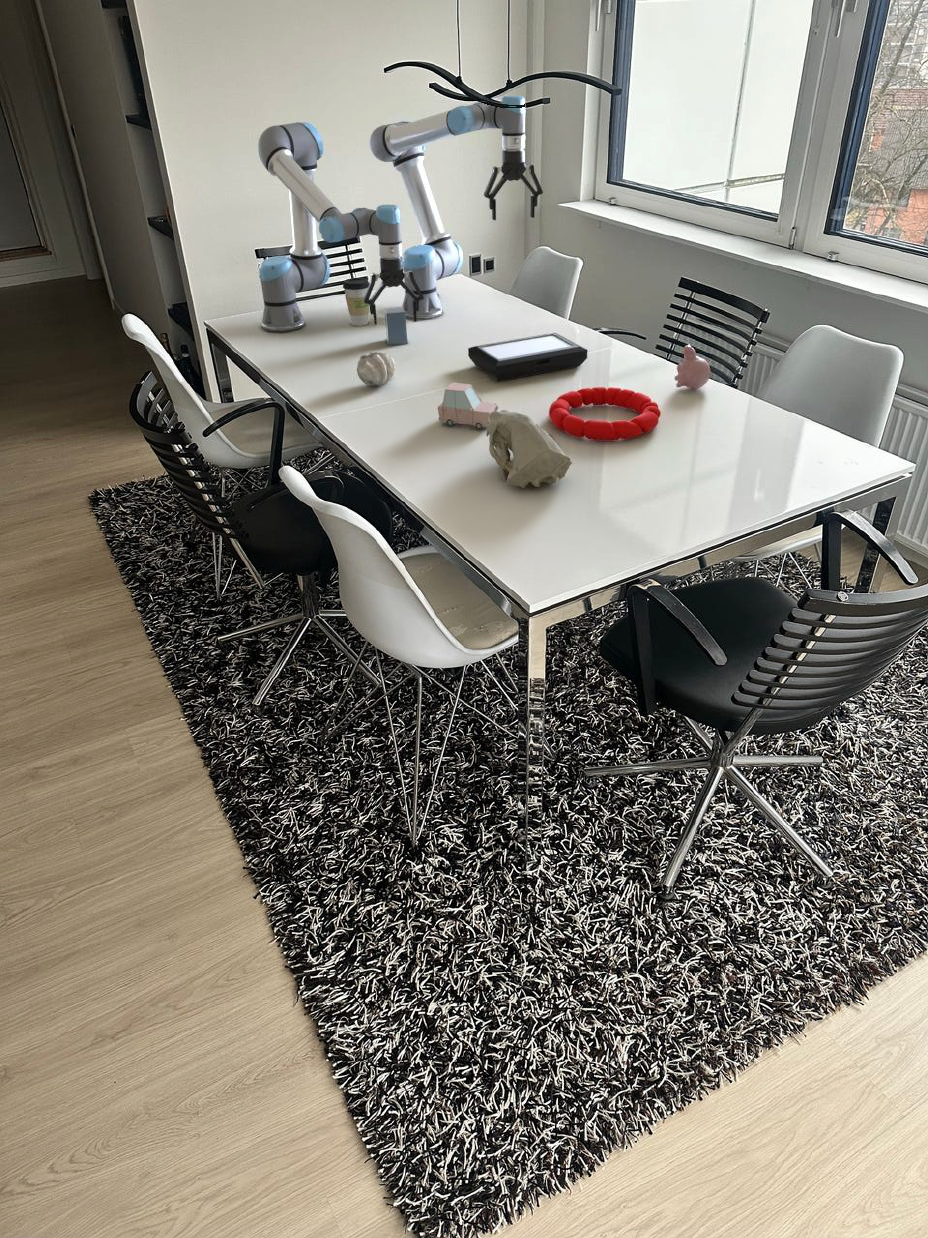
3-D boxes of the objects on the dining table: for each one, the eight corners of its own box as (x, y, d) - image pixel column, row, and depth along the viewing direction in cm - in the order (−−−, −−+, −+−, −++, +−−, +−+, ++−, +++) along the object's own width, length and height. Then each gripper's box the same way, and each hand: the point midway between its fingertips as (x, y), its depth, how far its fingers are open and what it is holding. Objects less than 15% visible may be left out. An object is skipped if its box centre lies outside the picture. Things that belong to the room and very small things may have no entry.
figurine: (665, 387, 264) (669, 347, 257) (693, 380, 268) (698, 340, 261) (686, 396, 257) (690, 355, 250) (714, 388, 262) (720, 348, 255)
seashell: (349, 384, 274) (346, 352, 268) (393, 375, 279) (391, 343, 274) (362, 394, 266) (359, 361, 260) (407, 384, 272) (405, 352, 266)
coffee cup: (372, 326, 323) (368, 283, 314) (345, 327, 323) (340, 284, 315) (374, 318, 331) (371, 276, 322) (348, 319, 331) (344, 277, 323)
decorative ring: (589, 435, 224) (684, 402, 234) (527, 398, 247) (617, 369, 256) (589, 461, 229) (683, 427, 238) (529, 422, 251) (617, 393, 260)
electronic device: (495, 363, 267) (468, 345, 282) (495, 383, 270) (468, 364, 285) (587, 347, 277) (556, 330, 292) (586, 366, 281) (555, 349, 296)
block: (386, 339, 310) (384, 308, 304) (404, 338, 311) (402, 306, 305) (388, 345, 305) (386, 313, 299) (407, 343, 306) (405, 311, 300)
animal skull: (496, 517, 219) (521, 479, 201) (463, 429, 225) (484, 384, 207) (557, 503, 225) (586, 465, 206) (523, 417, 231) (549, 373, 212)
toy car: (488, 432, 240) (488, 396, 234) (436, 426, 244) (434, 390, 239) (499, 419, 247) (499, 384, 241) (448, 413, 252) (447, 379, 246)
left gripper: (354, 262, 287) (359, 328, 300) (430, 256, 291) (433, 322, 303) (352, 256, 293) (357, 321, 306) (426, 251, 297) (429, 316, 309)
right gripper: (478, 152, 291) (480, 222, 304) (552, 148, 295) (551, 217, 307) (474, 149, 298) (475, 218, 310) (546, 145, 301) (545, 213, 313)
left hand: (395, 322), depth 304 cm, fingers open, 13 cm apart
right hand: (513, 218), depth 308 cm, fingers open, 13 cm apart
